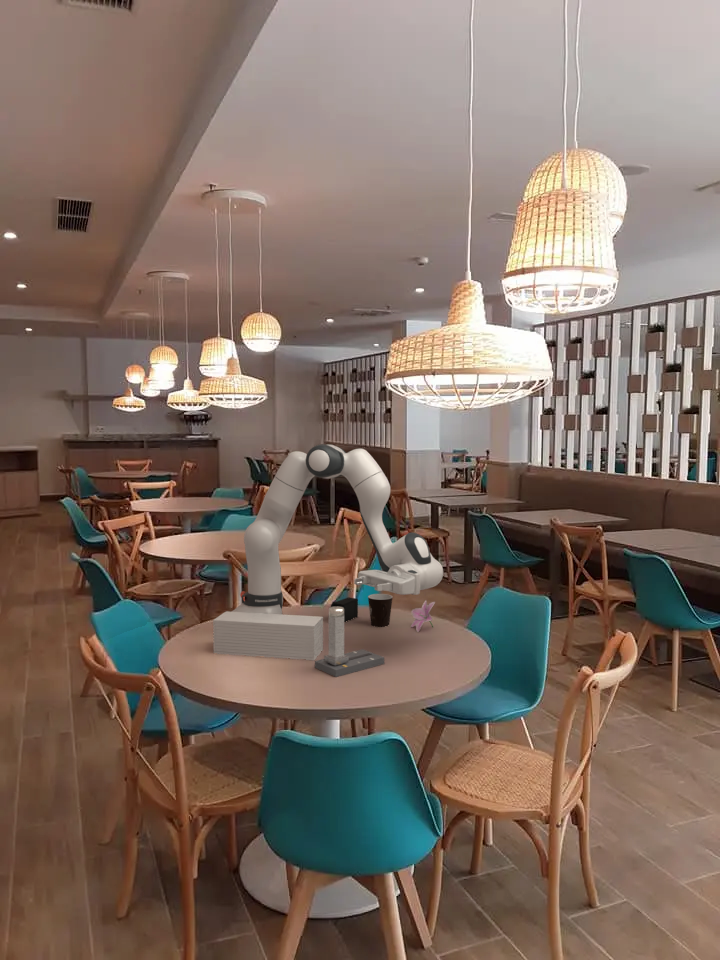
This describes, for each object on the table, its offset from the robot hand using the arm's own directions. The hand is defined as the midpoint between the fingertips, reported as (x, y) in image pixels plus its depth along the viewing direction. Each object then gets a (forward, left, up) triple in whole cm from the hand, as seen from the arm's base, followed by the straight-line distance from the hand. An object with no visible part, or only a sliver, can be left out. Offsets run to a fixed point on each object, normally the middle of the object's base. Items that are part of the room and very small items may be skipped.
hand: (365, 584), depth 219 cm
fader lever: (-10, -5, -21) cm, 24 cm away
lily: (+27, +31, -24) cm, 47 cm away
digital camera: (+2, +48, -24) cm, 54 cm away
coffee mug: (+13, +37, -23) cm, 46 cm away
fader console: (-5, -3, -23) cm, 24 cm away
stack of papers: (-28, +15, -24) cm, 39 cm away
